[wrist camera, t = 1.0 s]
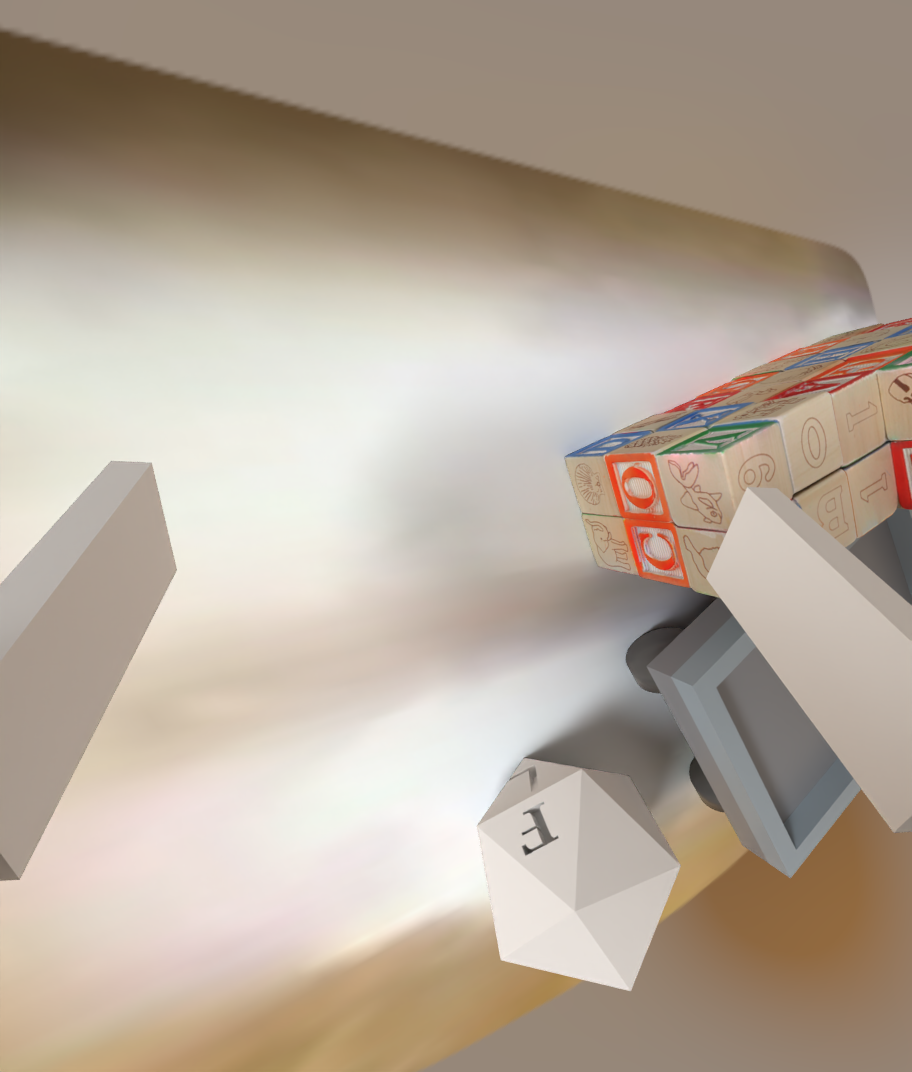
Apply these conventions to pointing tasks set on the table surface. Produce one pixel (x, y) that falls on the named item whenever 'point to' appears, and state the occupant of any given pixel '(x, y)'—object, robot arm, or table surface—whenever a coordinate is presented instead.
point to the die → (575, 872)
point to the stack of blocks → (756, 456)
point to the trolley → (760, 718)
